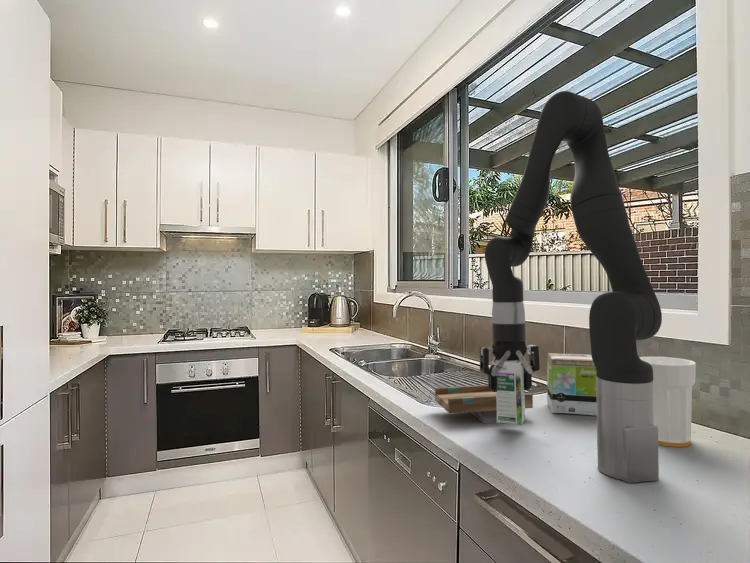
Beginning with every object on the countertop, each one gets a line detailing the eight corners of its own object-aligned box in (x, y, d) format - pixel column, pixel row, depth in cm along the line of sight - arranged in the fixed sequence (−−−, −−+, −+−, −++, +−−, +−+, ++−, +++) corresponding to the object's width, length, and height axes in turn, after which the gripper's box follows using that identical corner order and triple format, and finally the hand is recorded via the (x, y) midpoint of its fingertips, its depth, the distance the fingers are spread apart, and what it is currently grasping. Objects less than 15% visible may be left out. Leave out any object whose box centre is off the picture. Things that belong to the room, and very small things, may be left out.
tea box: (551, 414, 120) (551, 358, 120) (546, 404, 130) (546, 352, 129) (614, 417, 116) (613, 359, 116) (604, 406, 126) (603, 353, 126)
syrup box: (496, 423, 106) (494, 360, 106) (501, 416, 111) (499, 357, 112) (521, 425, 103) (519, 361, 104) (525, 418, 109) (523, 358, 109)
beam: (533, 419, 115) (532, 388, 115) (449, 425, 112) (449, 393, 112) (511, 406, 127) (510, 378, 127) (435, 411, 124) (434, 382, 124)
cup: (627, 439, 101) (626, 360, 101) (647, 427, 108) (646, 354, 108) (687, 453, 92) (686, 367, 92) (704, 440, 99) (703, 360, 99)
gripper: (486, 323, 103) (488, 395, 103) (544, 321, 105) (546, 392, 105) (473, 321, 110) (475, 388, 110) (528, 319, 113) (530, 385, 113)
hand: (510, 390), depth 108 cm, fingers closed on syrup box, 7 cm apart
